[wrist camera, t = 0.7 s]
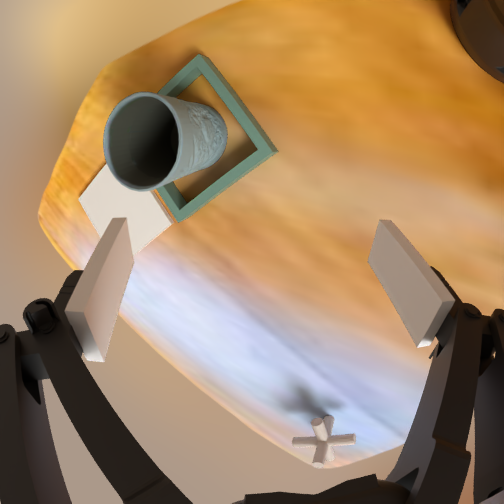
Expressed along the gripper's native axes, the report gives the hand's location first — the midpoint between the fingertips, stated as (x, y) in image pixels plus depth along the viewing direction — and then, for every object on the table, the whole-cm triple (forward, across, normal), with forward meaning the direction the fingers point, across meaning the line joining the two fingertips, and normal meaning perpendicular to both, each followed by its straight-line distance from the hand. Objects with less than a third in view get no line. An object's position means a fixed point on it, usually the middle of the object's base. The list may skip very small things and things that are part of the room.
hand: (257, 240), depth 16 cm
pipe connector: (+9, +16, -40) cm, 44 cm away
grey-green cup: (+27, -5, -1) cm, 28 cm away
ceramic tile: (+30, -17, -13) cm, 37 cm away
